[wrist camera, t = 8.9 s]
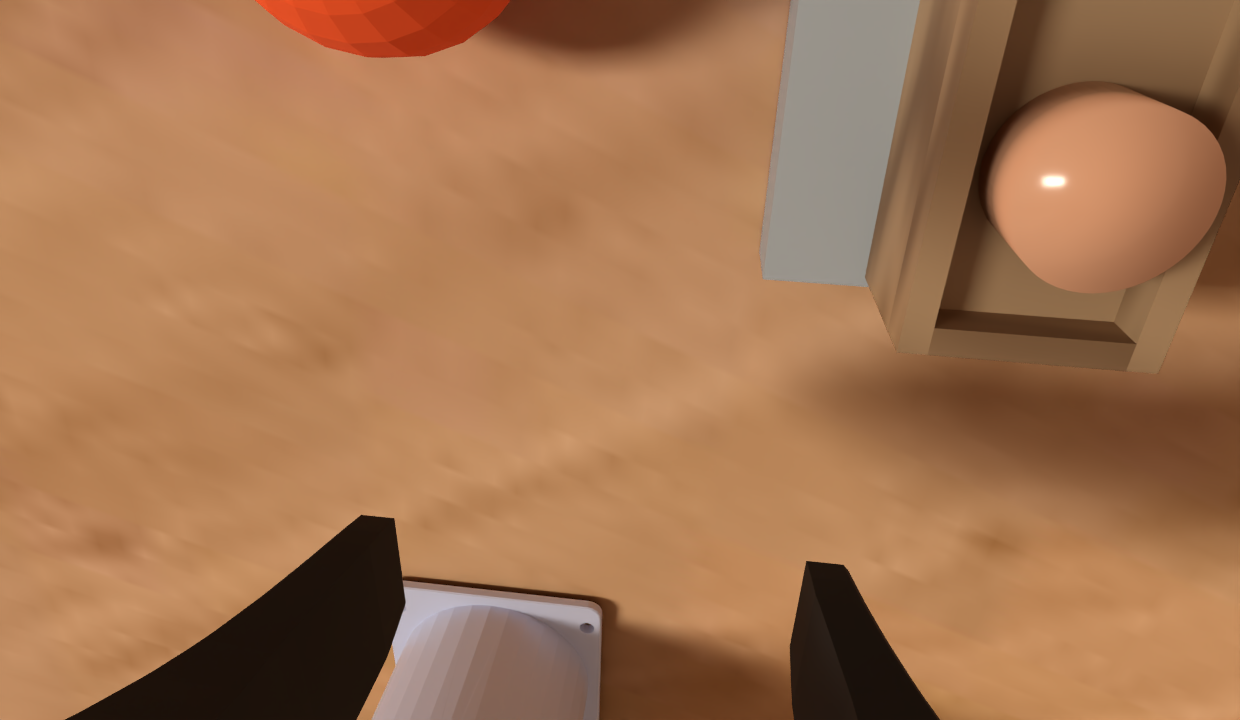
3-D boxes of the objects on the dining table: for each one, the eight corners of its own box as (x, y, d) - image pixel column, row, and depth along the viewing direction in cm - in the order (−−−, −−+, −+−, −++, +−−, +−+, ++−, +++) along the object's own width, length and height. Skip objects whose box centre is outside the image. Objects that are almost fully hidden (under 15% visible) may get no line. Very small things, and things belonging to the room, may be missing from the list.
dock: (1144, 278, 20) (1211, 332, 18) (759, 251, 21) (765, 298, 18) (1298, -126, 16) (1421, -141, 13) (807, -140, 17) (824, -155, 14)
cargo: (1107, 266, 15) (1156, 312, 14) (950, 229, 15) (979, 269, 14) (1202, 104, 14) (1270, 132, 12) (1026, 61, 14) (1070, 83, 12)
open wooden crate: (1076, 293, 19) (1157, 373, 15) (864, 277, 19) (896, 352, 16) (1197, -61, 15) (1340, -62, 12) (934, -71, 16) (995, -75, 12)
